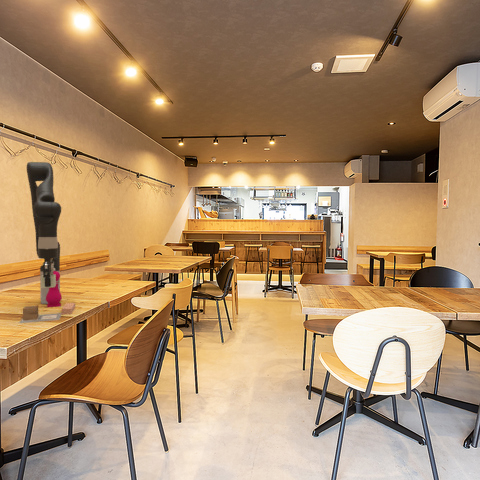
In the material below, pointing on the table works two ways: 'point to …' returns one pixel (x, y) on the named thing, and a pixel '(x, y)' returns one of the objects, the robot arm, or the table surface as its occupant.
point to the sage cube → (53, 281)
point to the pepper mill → (54, 293)
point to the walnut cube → (30, 313)
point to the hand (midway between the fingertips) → (48, 285)
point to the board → (44, 318)
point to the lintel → (68, 308)
